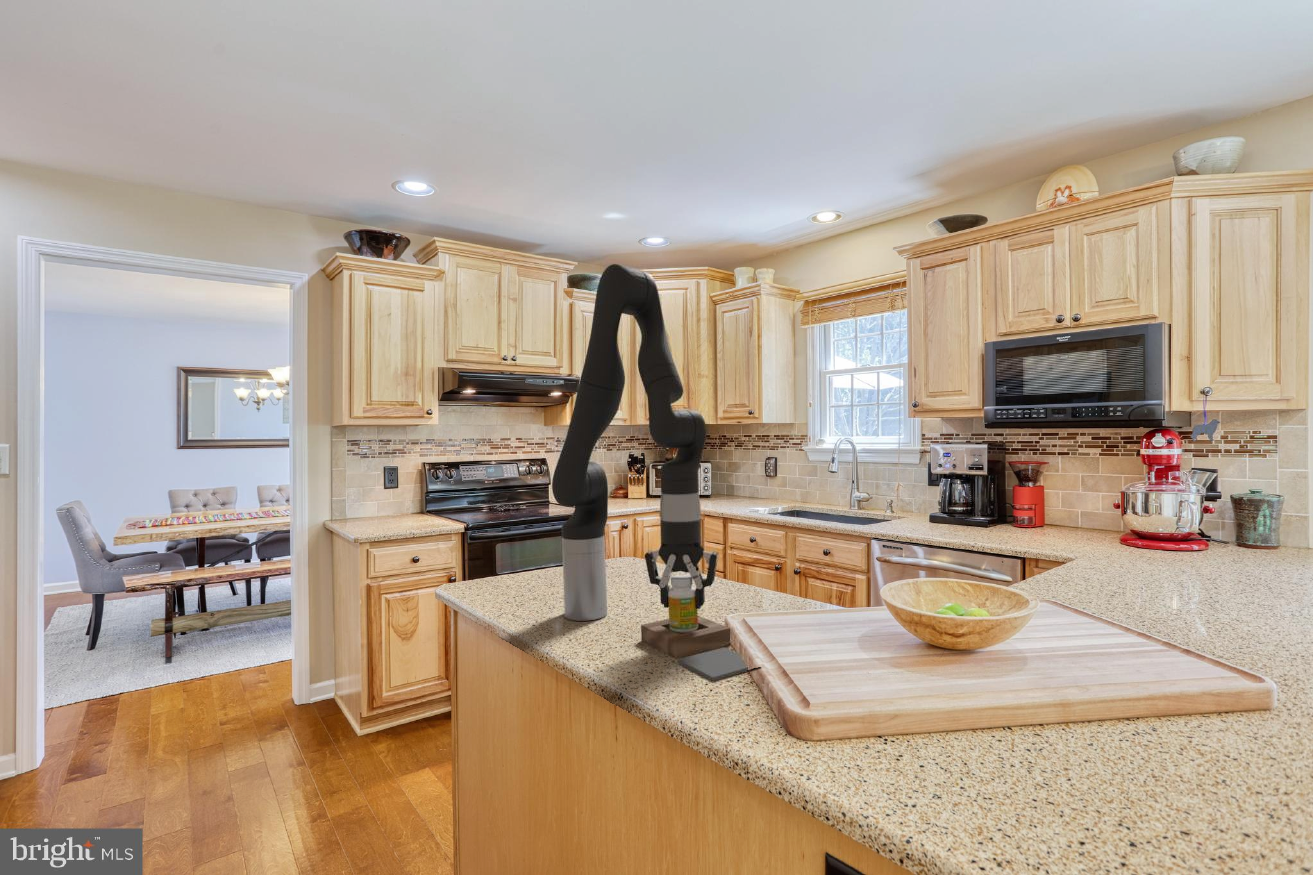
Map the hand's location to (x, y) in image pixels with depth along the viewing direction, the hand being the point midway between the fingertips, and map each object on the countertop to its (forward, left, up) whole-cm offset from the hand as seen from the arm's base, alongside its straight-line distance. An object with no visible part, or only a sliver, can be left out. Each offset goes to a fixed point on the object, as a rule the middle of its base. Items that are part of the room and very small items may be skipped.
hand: (682, 606), depth 123 cm
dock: (0, 0, -7) cm, 7 cm away
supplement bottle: (0, 0, -4) cm, 4 cm away
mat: (+13, -2, -7) cm, 15 cm away
